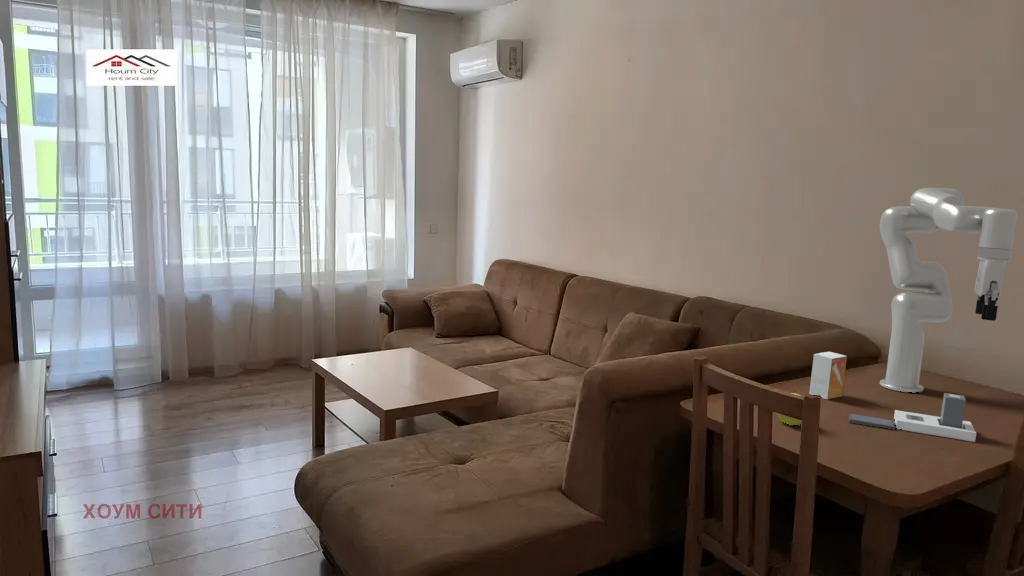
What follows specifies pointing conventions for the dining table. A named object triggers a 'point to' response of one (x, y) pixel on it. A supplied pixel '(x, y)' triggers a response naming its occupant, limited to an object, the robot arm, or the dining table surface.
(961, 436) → the outlet plate
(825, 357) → the small box
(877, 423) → the phone
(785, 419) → the apple
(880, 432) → the dining table surface
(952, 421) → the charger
